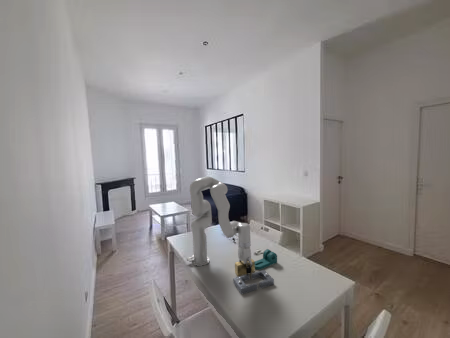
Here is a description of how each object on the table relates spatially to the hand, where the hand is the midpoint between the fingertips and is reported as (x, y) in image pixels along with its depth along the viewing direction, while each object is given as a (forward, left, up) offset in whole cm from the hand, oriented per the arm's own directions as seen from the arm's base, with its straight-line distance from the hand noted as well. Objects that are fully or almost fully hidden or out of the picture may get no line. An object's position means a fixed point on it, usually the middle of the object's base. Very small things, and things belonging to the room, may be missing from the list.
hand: (245, 269), depth 131 cm
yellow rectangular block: (0, 0, -2) cm, 2 cm away
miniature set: (+15, +50, -3) cm, 52 cm away
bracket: (+16, +3, -3) cm, 16 cm away
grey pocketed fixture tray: (0, -12, -2) cm, 12 cm away
